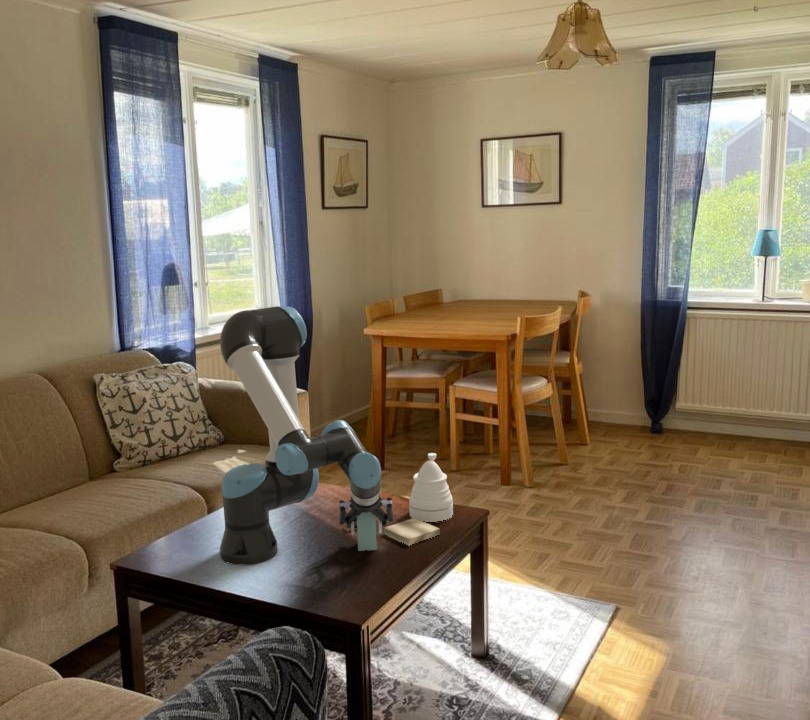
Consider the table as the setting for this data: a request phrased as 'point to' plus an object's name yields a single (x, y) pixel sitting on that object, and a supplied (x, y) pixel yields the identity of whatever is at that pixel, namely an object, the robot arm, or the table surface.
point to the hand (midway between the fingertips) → (366, 529)
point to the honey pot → (430, 494)
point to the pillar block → (366, 531)
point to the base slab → (411, 531)
